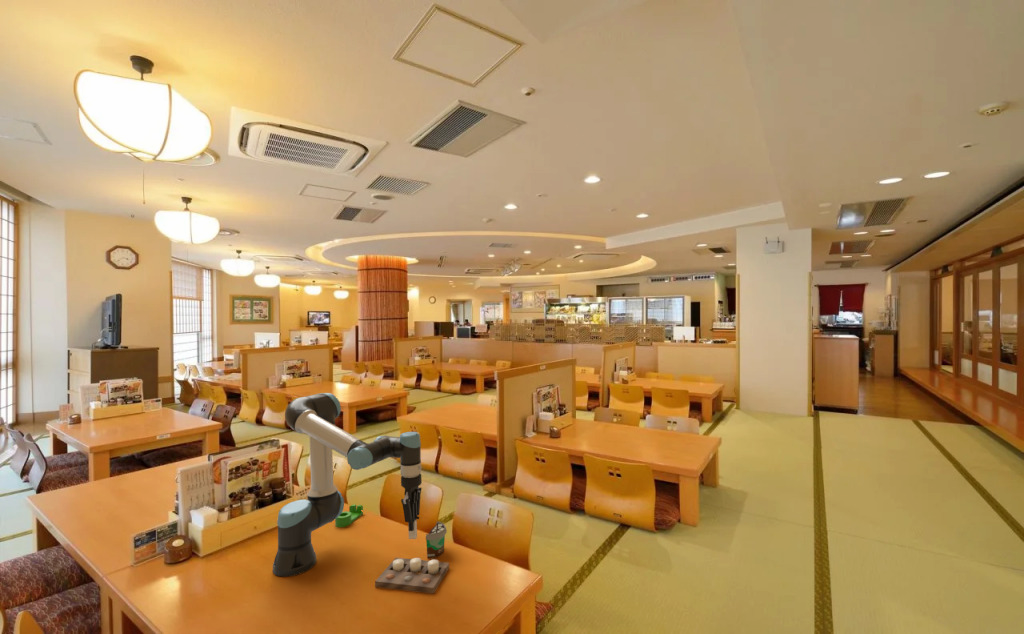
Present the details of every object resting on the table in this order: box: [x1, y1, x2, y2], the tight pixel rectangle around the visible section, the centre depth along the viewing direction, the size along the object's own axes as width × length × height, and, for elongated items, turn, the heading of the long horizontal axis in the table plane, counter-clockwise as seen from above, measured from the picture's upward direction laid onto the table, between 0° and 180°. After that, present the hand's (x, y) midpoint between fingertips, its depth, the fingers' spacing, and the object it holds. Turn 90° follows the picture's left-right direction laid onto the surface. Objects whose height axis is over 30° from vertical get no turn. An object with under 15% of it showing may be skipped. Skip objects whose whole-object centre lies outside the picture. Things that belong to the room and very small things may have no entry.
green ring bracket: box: [334, 503, 364, 528], centre depth 209 cm, size 15×7×5 cm, turn 168°
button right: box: [428, 559, 440, 575], centre depth 161 cm, size 4×4×3 cm
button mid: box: [410, 557, 422, 573], centre depth 163 cm, size 4×4×3 cm
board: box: [374, 557, 450, 595], centre depth 161 cm, size 22×16×2 cm
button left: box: [392, 559, 404, 571], centre depth 164 cm, size 4×4×3 cm
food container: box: [425, 521, 448, 559], centre depth 178 cm, size 12×6×10 cm, turn 168°
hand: (412, 537), depth 163 cm, fingers closed
